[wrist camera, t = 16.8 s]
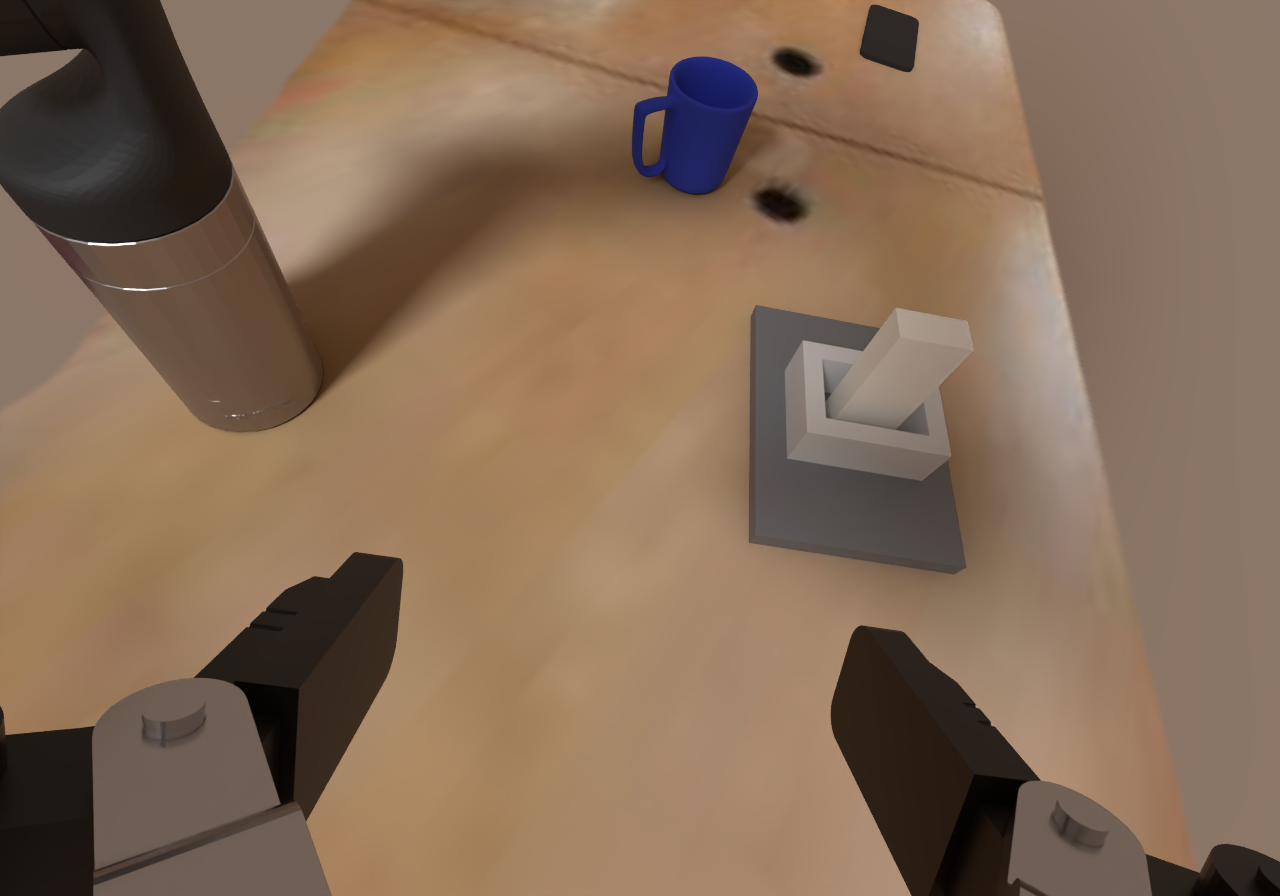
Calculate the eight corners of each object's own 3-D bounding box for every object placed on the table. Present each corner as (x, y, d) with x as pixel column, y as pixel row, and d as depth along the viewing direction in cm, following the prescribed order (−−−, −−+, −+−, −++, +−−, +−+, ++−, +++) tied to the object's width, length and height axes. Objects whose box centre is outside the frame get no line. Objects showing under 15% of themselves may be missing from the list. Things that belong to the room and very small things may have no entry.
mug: (604, 167, 64) (616, 69, 56) (701, 144, 69) (726, 50, 60) (644, 220, 61) (663, 125, 53) (743, 193, 66) (775, 101, 57)
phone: (919, 19, 91) (913, 70, 83) (916, 25, 92) (910, 76, 84) (870, 2, 91) (860, 51, 83) (868, 8, 92) (857, 58, 84)
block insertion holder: (750, 316, 57) (771, 272, 53) (917, 347, 59) (951, 307, 54) (748, 542, 46) (774, 512, 42) (954, 573, 48) (1001, 548, 43)
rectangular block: (821, 407, 52) (895, 307, 41) (879, 417, 52) (967, 320, 42) (823, 433, 50) (900, 337, 40) (882, 443, 51) (974, 350, 41)
